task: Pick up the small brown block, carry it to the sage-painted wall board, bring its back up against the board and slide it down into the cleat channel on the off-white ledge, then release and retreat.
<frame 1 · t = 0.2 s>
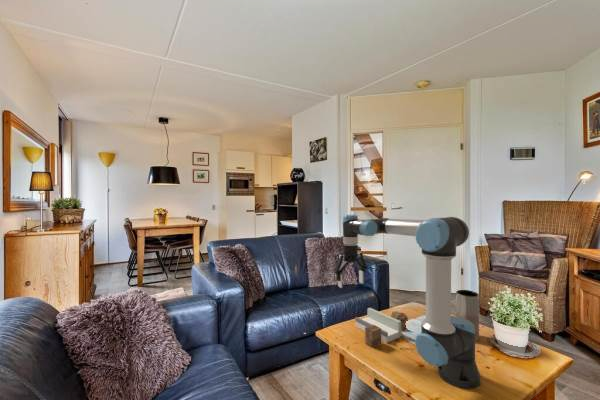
hand: (350, 285, 149), 27 cm above the table, fingers open, 13 cm apart
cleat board: (383, 328, 157), on the table
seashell: (398, 326, 161), on the table
brown block: (373, 343, 142), on the table
planter: (467, 337, 147), on the table
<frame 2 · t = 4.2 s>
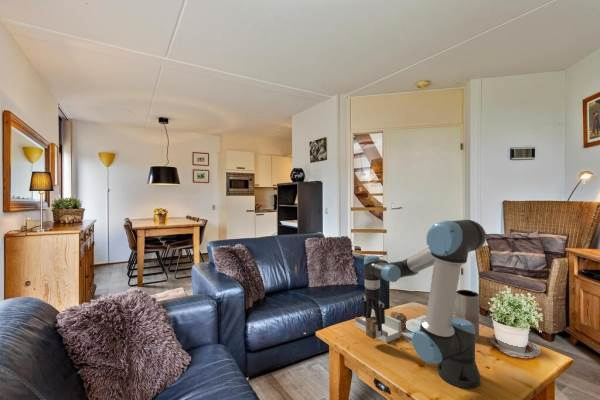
hand: (374, 334, 141), 5 cm above the table, fingers closed on brown block, 5 cm apart
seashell: (397, 327, 160), on the table
brown block: (374, 335, 141), point 5 cm above the table, touching gripper
everything else where it was.
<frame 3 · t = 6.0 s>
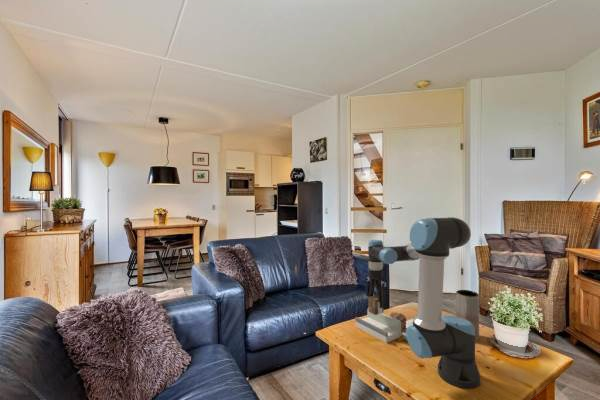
hand: (376, 311, 154), 11 cm above the table, fingers closed on brown block, 5 cm apart
brown block: (375, 312, 154), point 11 cm above the table, touching gripper
when the fingers open (4 cm above the table, at t = 8.0 s): brown block stays where it is, resting on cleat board.
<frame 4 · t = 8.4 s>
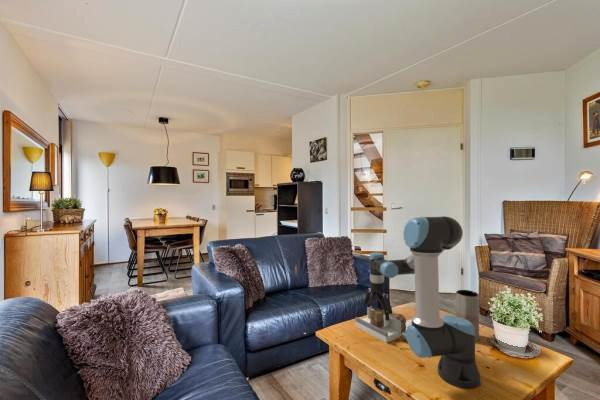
hand: (377, 322, 155), 5 cm above the table, fingers open, 11 cm apart
brown block: (377, 325, 155), point 3 cm above the table, touching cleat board
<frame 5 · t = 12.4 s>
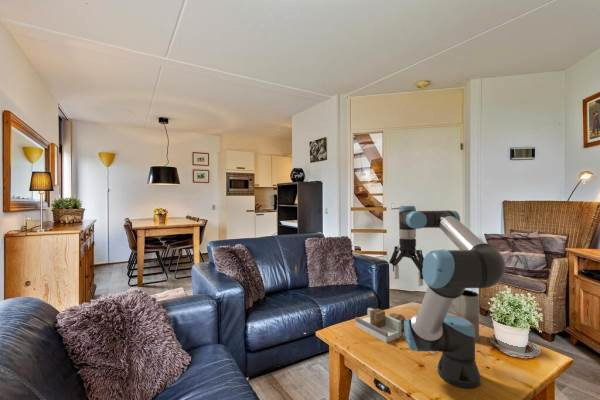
hand: (408, 282, 137), 32 cm above the table, fingers open, 13 cm apart
at the end: brown block inside the target area (0.8 cm from its centre), point 3.0 cm above the table; brown block tilted 0°; the gripper is holding nothing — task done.
